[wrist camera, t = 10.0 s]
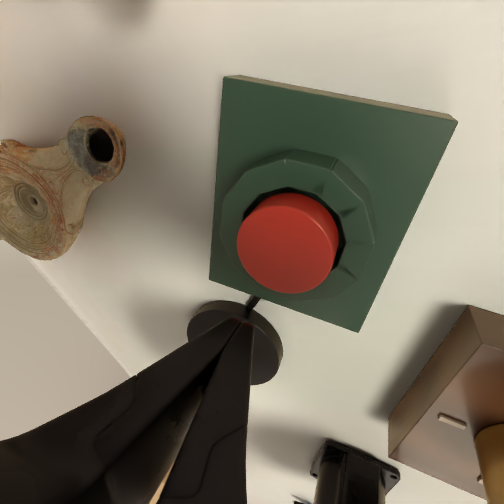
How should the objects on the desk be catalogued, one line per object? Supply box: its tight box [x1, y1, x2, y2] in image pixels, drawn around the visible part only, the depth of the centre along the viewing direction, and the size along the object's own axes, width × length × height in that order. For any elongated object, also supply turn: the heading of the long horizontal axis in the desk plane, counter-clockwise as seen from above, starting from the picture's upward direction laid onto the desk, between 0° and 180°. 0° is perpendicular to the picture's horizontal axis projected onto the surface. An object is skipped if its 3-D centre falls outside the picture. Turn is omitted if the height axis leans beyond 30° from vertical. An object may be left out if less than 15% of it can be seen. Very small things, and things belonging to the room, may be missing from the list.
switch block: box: [209, 75, 458, 333], centre depth 16 cm, size 12×10×4 cm
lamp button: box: [237, 193, 339, 294], centre depth 14 cm, size 4×4×2 cm
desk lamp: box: [149, 296, 283, 504], centre depth 20 cm, size 11×8×12 cm
